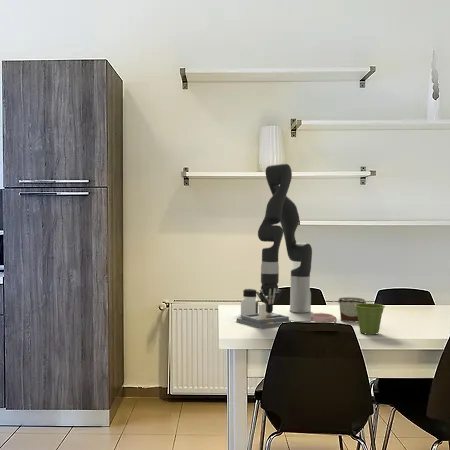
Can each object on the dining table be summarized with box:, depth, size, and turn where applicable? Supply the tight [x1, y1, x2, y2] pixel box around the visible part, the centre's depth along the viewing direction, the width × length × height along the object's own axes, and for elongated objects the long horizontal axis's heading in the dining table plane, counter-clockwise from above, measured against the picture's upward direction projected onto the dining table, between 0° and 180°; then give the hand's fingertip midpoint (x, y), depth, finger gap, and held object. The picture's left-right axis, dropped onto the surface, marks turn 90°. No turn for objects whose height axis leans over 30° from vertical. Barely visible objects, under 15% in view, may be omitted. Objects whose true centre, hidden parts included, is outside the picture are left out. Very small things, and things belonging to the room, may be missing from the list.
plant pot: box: [355, 302, 386, 335], centre depth 227 cm, size 12×12×11 cm
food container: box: [337, 296, 367, 322], centre depth 254 cm, size 12×6×10 cm, turn 71°
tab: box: [258, 303, 266, 320], centre depth 239 cm, size 4×3×7 cm
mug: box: [309, 312, 338, 324], centre depth 234 cm, size 12×10×6 cm
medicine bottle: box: [240, 288, 259, 316], centre depth 263 cm, size 7×7×12 cm
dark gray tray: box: [236, 312, 294, 330], centre depth 244 cm, size 18×17×3 cm
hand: (269, 312), depth 241 cm, fingers closed
